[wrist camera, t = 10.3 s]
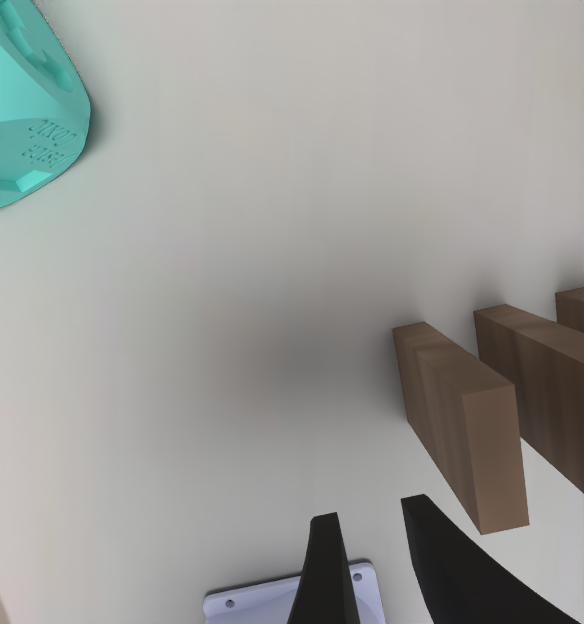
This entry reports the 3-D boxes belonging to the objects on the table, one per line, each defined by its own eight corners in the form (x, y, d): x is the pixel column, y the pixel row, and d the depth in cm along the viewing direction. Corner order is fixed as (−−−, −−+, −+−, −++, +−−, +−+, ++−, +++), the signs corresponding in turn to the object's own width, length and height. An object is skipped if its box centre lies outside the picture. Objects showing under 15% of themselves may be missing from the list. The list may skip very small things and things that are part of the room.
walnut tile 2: (485, 405, 22) (601, 509, 14) (473, 311, 21) (592, 367, 13) (516, 398, 22) (650, 499, 14) (506, 304, 21) (645, 356, 13)
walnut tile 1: (408, 421, 22) (481, 535, 14) (392, 328, 21) (462, 395, 13) (438, 414, 22) (529, 525, 14) (424, 321, 21) (514, 384, 13)
